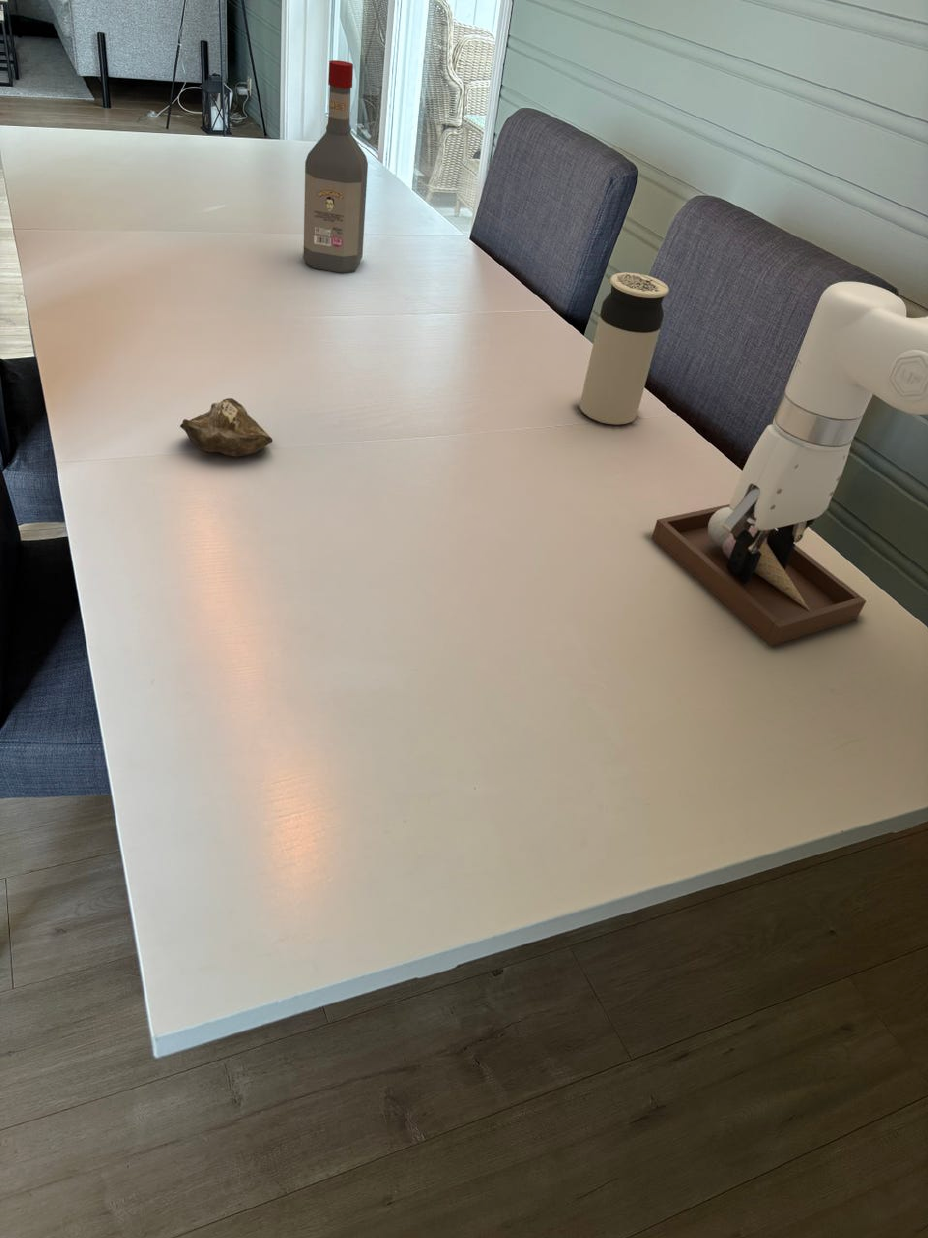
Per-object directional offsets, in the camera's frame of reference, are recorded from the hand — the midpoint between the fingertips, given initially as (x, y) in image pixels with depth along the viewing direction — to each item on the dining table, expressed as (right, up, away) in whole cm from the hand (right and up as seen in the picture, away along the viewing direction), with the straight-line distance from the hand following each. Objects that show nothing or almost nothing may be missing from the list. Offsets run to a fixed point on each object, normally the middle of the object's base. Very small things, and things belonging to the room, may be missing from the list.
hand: (754, 569), depth 99 cm
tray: (0, -1, +1) cm, 1 cm away
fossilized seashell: (-59, +14, +7) cm, 61 cm away
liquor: (-54, +56, +59) cm, 98 cm away
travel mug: (-12, +23, +28) cm, 38 cm away
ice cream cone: (+1, 0, +1) cm, 1 cm away
